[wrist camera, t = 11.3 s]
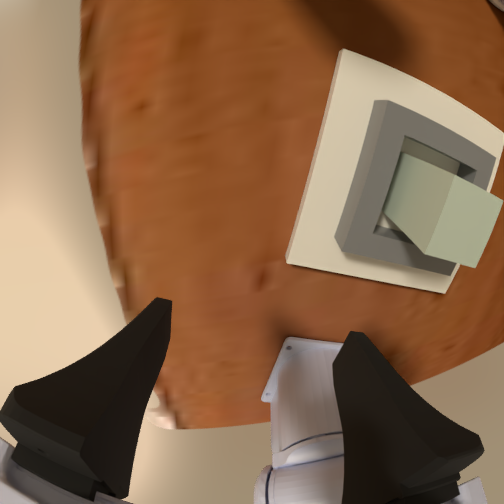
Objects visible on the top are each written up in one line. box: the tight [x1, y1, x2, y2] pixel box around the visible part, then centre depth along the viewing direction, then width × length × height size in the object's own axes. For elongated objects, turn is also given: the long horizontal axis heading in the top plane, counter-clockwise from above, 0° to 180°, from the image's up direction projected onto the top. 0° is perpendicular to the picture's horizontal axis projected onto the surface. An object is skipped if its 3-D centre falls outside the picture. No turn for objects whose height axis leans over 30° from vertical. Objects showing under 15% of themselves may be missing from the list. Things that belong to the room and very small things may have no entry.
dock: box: [285, 49, 504, 293], centre depth 16 cm, size 14×14×3 cm
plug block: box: [381, 152, 503, 268], centre depth 14 cm, size 4×4×6 cm
